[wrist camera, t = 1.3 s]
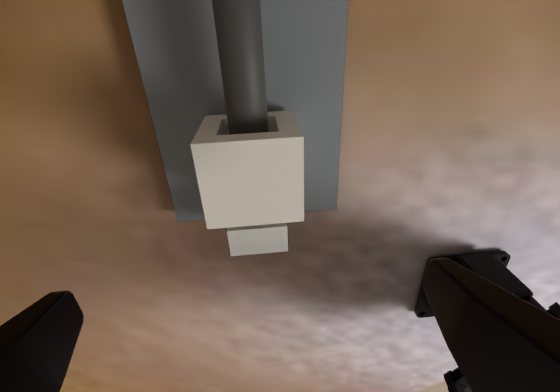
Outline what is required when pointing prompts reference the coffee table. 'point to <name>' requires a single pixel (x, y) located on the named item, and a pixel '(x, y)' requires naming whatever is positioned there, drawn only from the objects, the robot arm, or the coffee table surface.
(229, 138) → the sleeve
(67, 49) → the coffee table surface
